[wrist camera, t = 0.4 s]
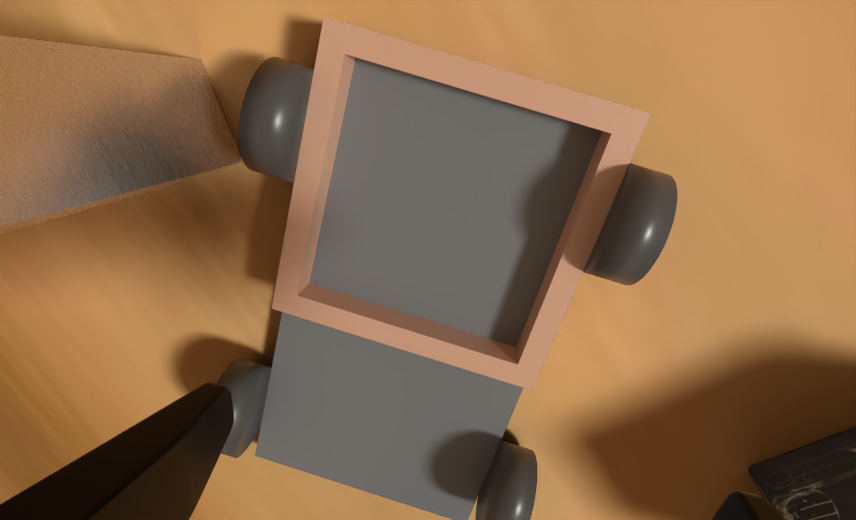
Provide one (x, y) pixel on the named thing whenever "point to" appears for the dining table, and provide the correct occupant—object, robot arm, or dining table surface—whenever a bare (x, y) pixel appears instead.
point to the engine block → (100, 127)
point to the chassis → (429, 261)
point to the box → (812, 480)
